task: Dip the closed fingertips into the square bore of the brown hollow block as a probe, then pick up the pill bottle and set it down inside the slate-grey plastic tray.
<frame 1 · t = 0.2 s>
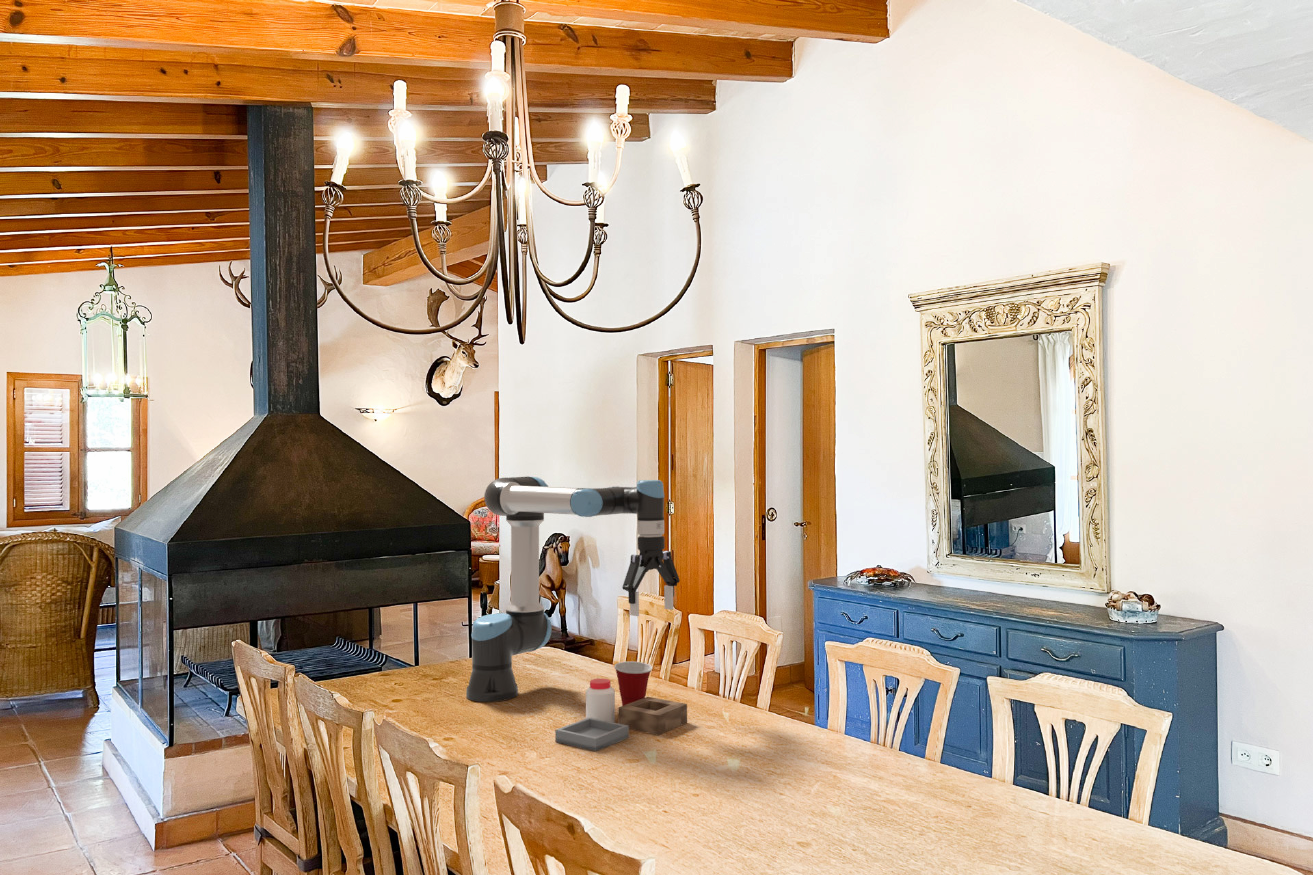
hand: (652, 612, 256), 28 cm above the table, fingers open, 13 cm apart
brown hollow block: (653, 724, 244), on the table
plastic cup: (633, 708, 260), on the table
tray: (592, 739, 231), on the table
pill bottle: (600, 722, 246), on the table
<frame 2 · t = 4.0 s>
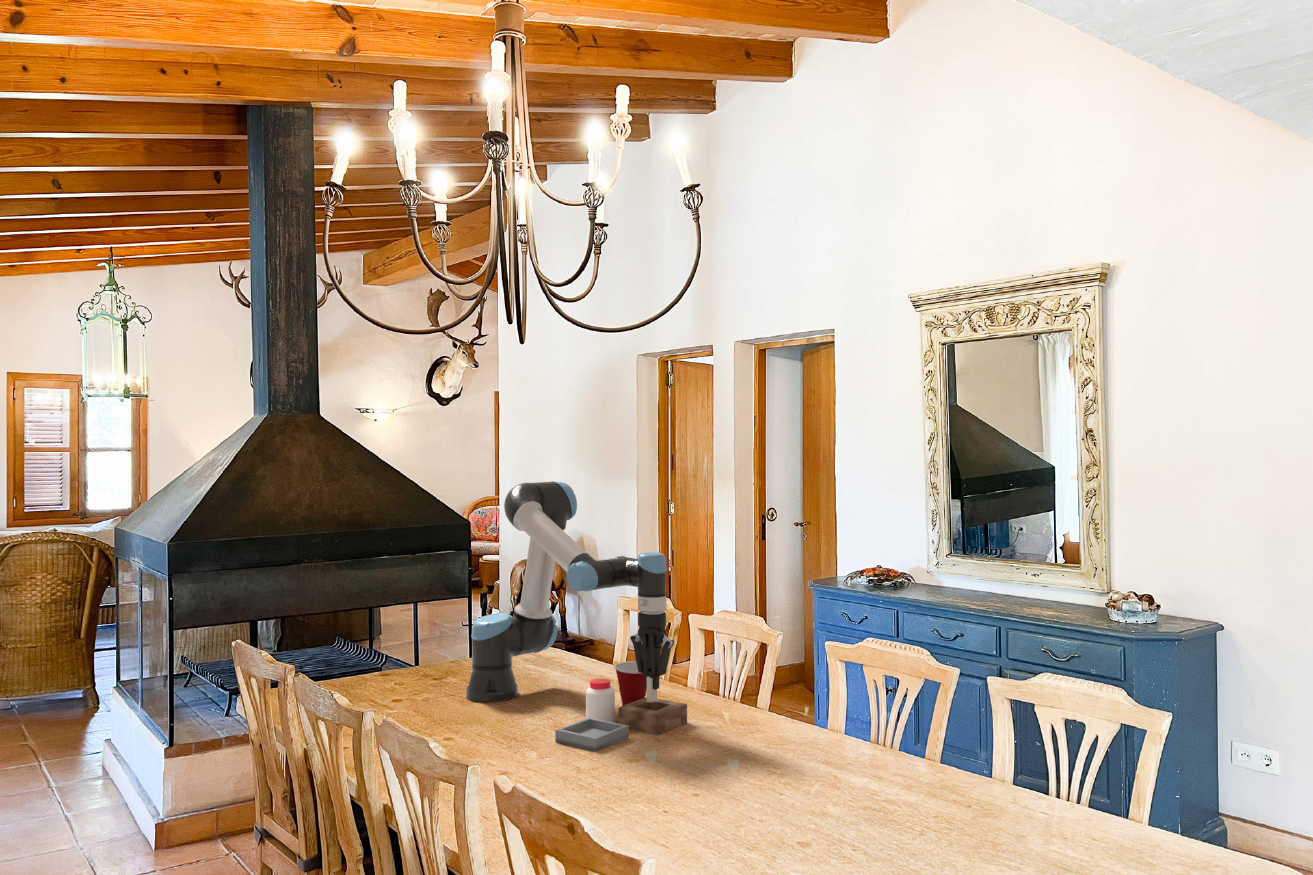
hand: (651, 700, 244), 6 cm above the table, fingers closed
nothing on the table moved.
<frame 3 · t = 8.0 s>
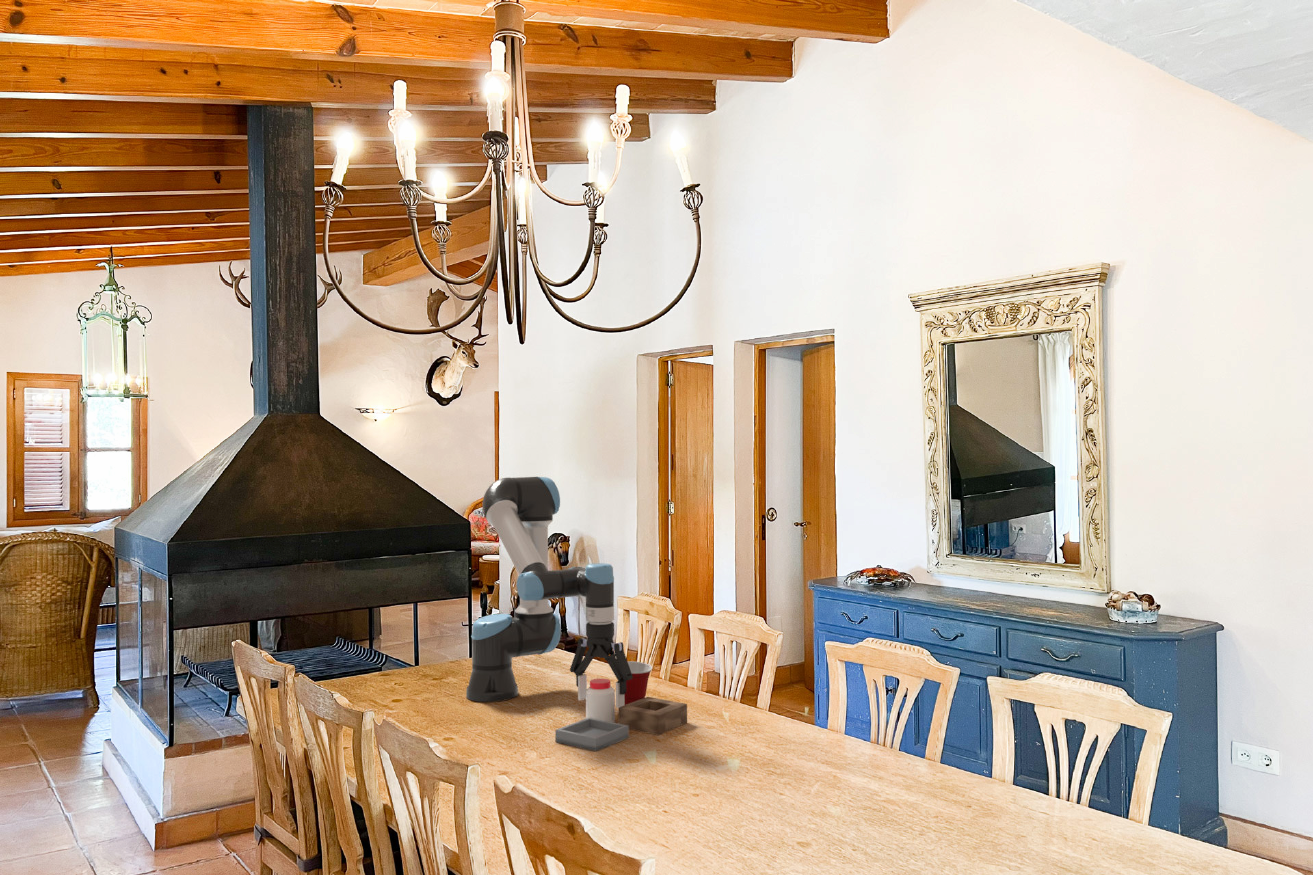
hand: (601, 702, 246), 5 cm above the table, fingers open, 12 cm apart
nothing on the table moved.
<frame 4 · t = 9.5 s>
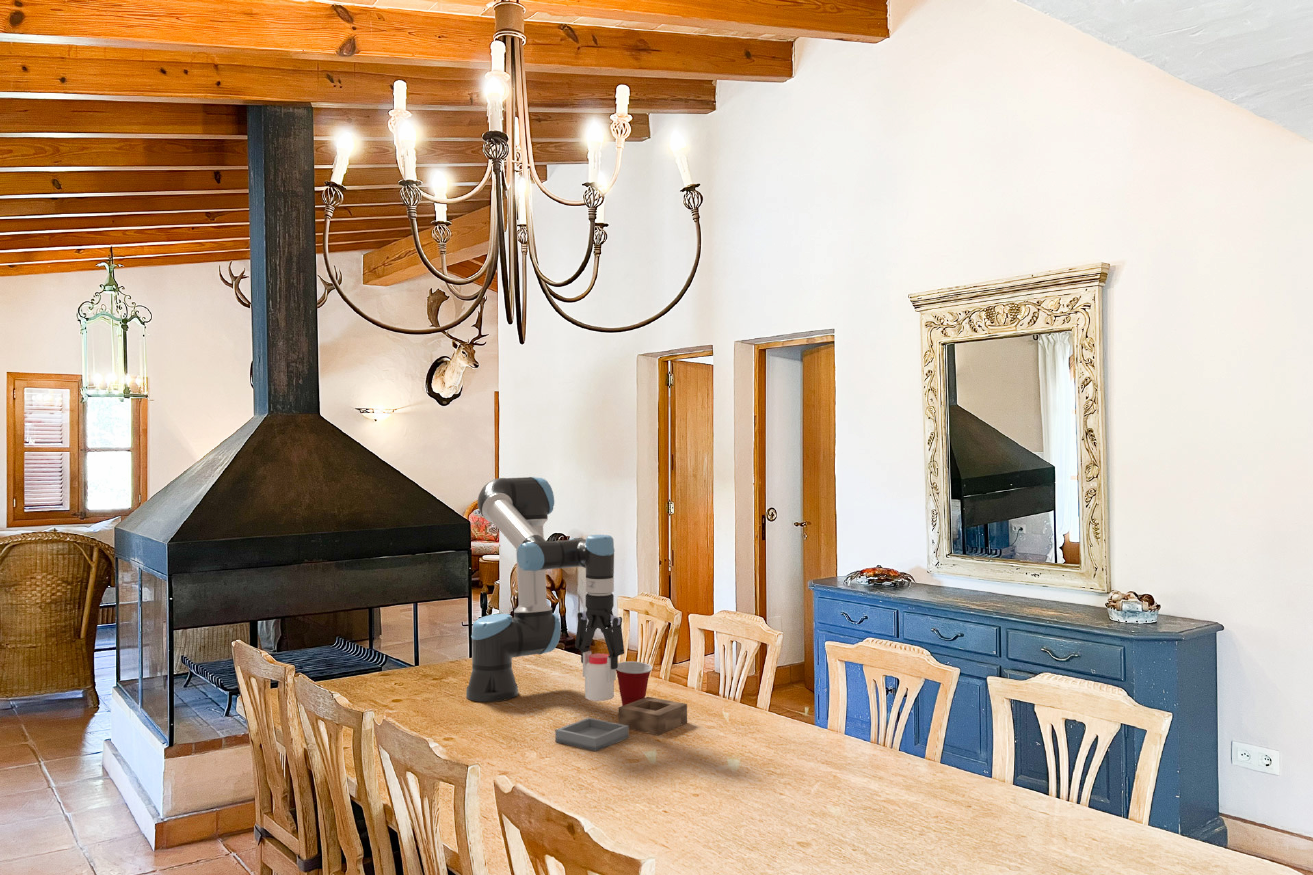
hand: (599, 678, 247), 12 cm above the table, fingers closed on pill bottle, 8 cm apart
pill bottle: (599, 697, 247), point 6 cm above the table, touching gripper
everything else where it was.
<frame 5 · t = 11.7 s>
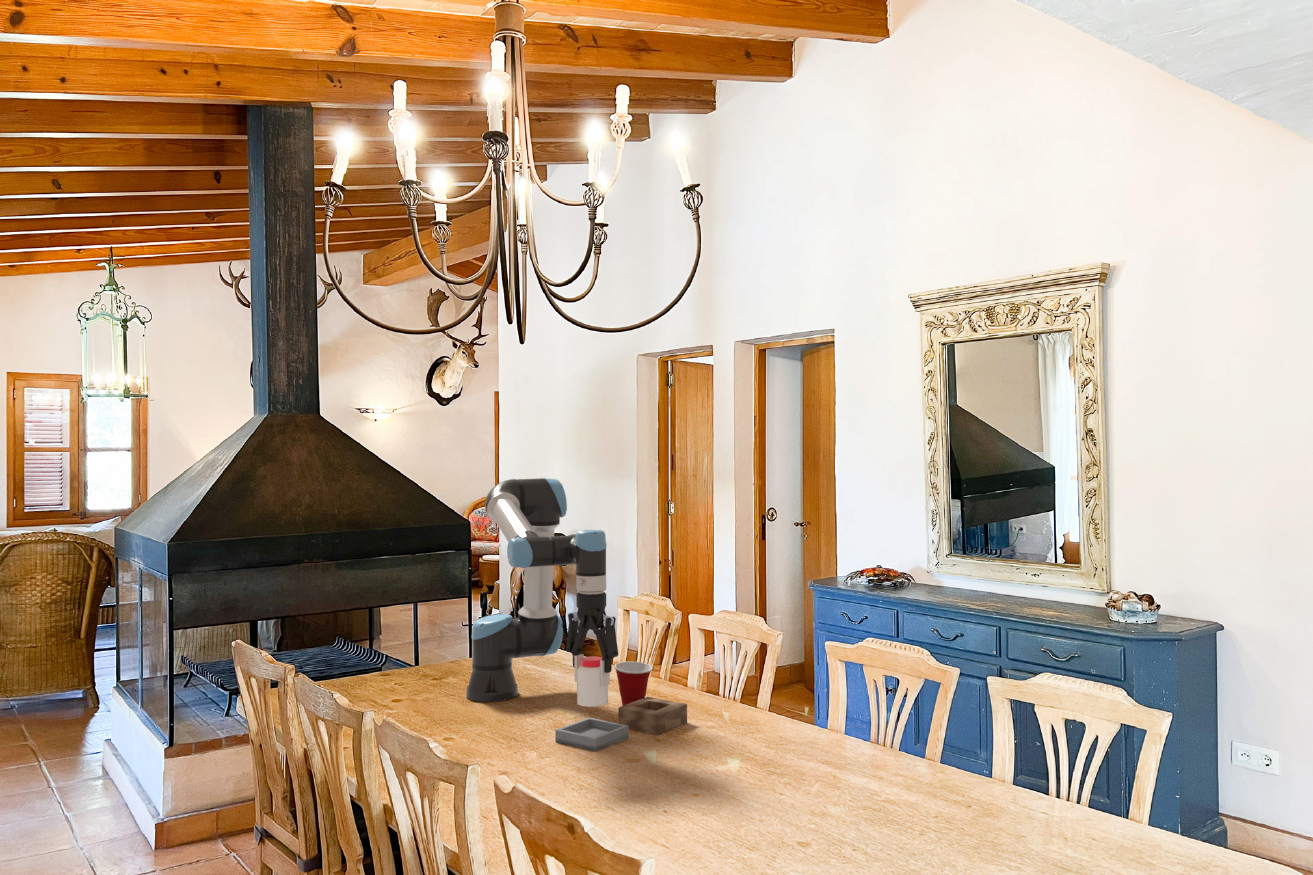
hand: (592, 682, 231), 14 cm above the table, fingers closed on pill bottle, 8 cm apart
pill bottle: (592, 703, 231), point 9 cm above the table, touching gripper
everything else where it was.
when the fingers open (6 cm above the table, at t = 13.9 s): pill bottle stays where it is, resting on tray.
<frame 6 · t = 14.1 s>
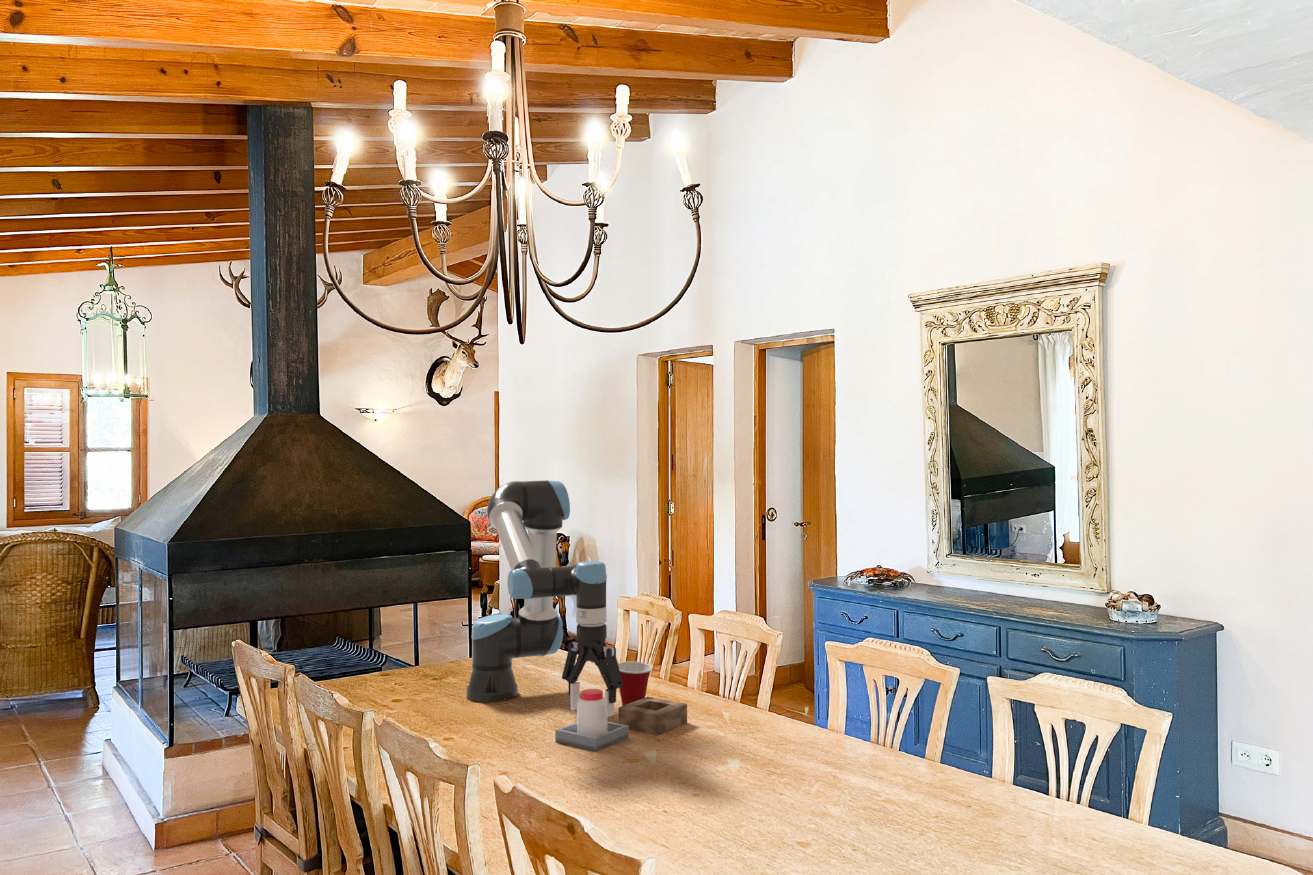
hand: (592, 712, 231), 7 cm above the table, fingers open, 10 cm apart
pill bottle: (592, 736, 231), point 1 cm above the table, touching tray
everything else where it was.
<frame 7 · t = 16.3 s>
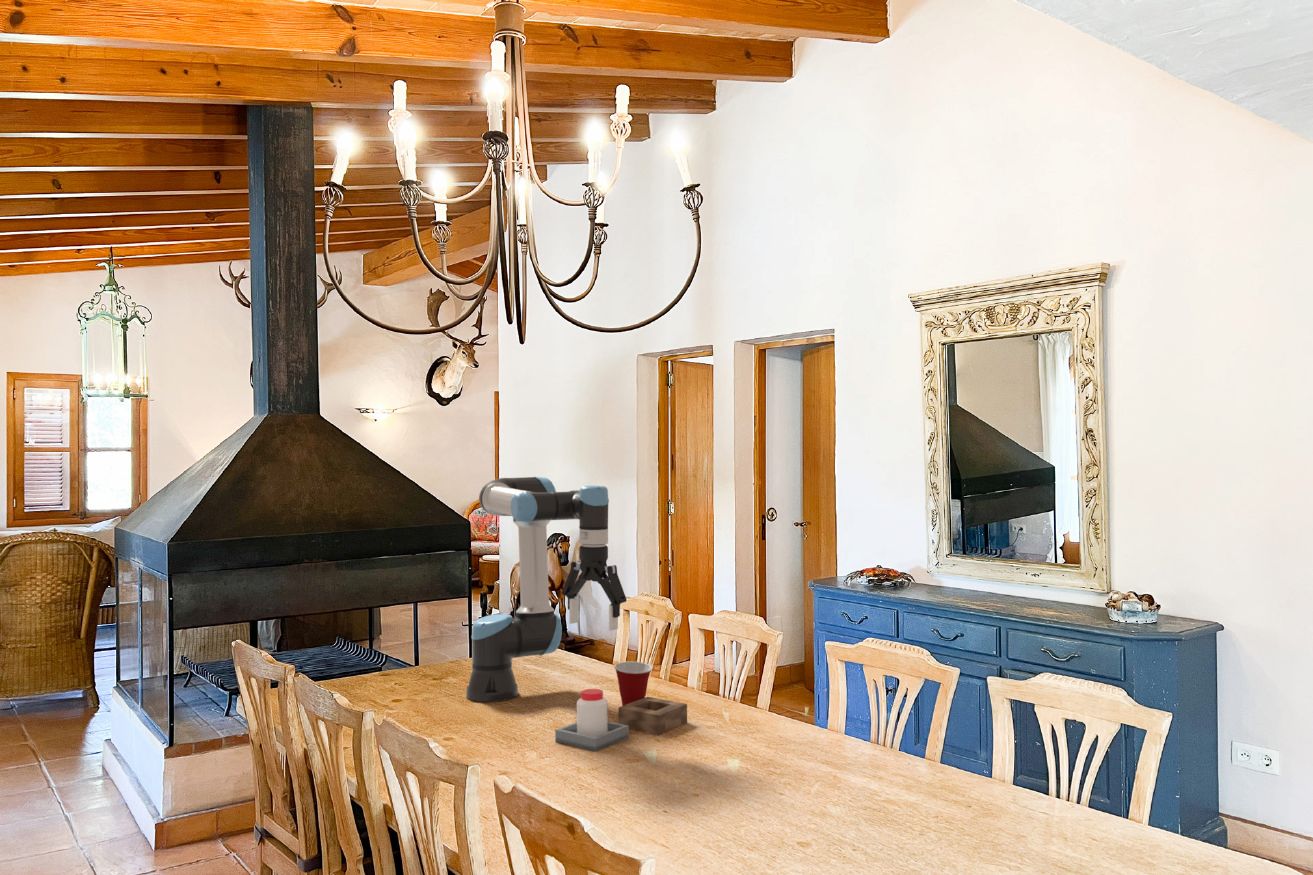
hand: (593, 626, 241), 27 cm above the table, fingers open, 13 cm apart
nothing on the table moved.
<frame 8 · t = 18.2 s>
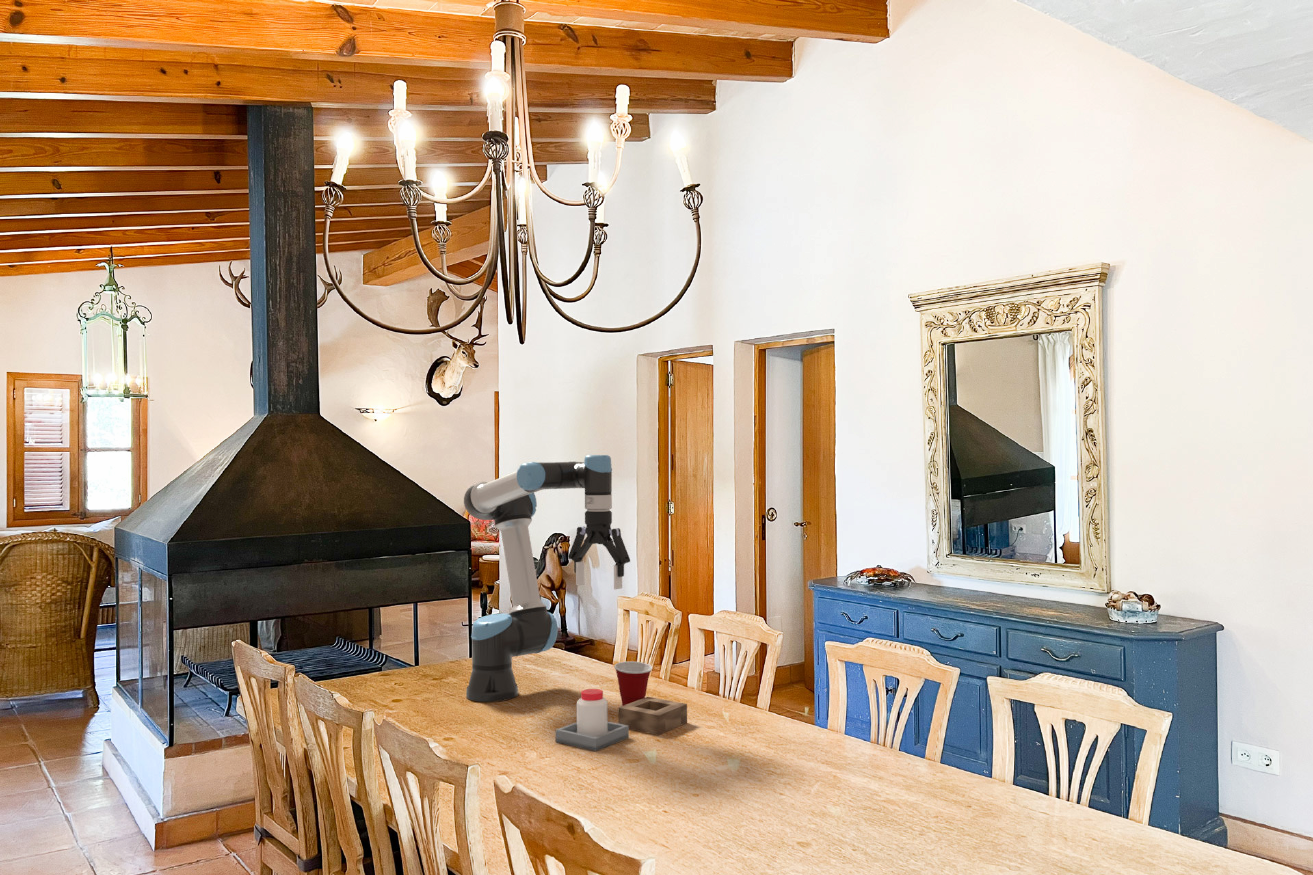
hand: (598, 586, 256), 35 cm above the table, fingers open, 13 cm apart
nothing on the table moved.
at the end: pill bottle inside the target area on the tray (0.2 cm from its centre), point 0.8 cm above the tray's base; pill bottle tilted 0°; the gripper is holding nothing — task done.
